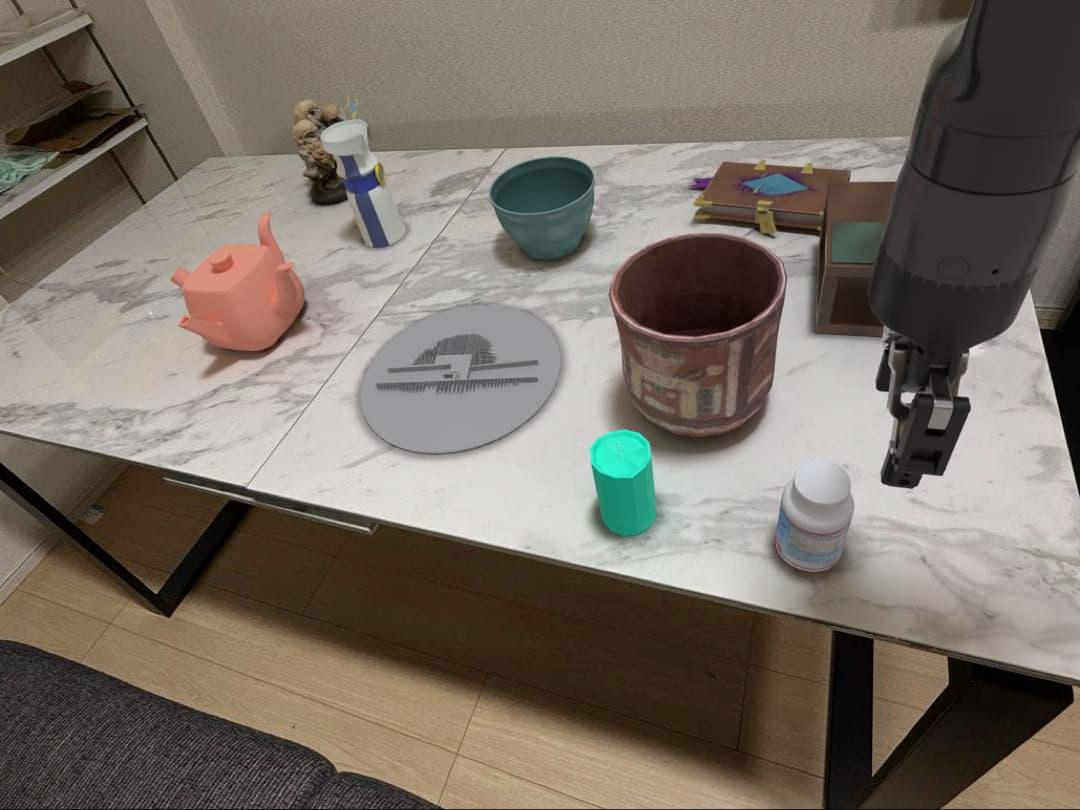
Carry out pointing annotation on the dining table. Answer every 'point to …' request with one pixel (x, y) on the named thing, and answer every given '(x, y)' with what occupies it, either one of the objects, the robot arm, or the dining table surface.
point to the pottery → (699, 330)
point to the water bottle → (363, 180)
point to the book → (767, 194)
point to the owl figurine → (318, 150)
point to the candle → (624, 481)
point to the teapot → (242, 294)
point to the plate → (460, 379)
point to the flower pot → (545, 204)
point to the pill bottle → (815, 516)
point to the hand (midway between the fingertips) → (894, 432)
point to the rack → (850, 257)
